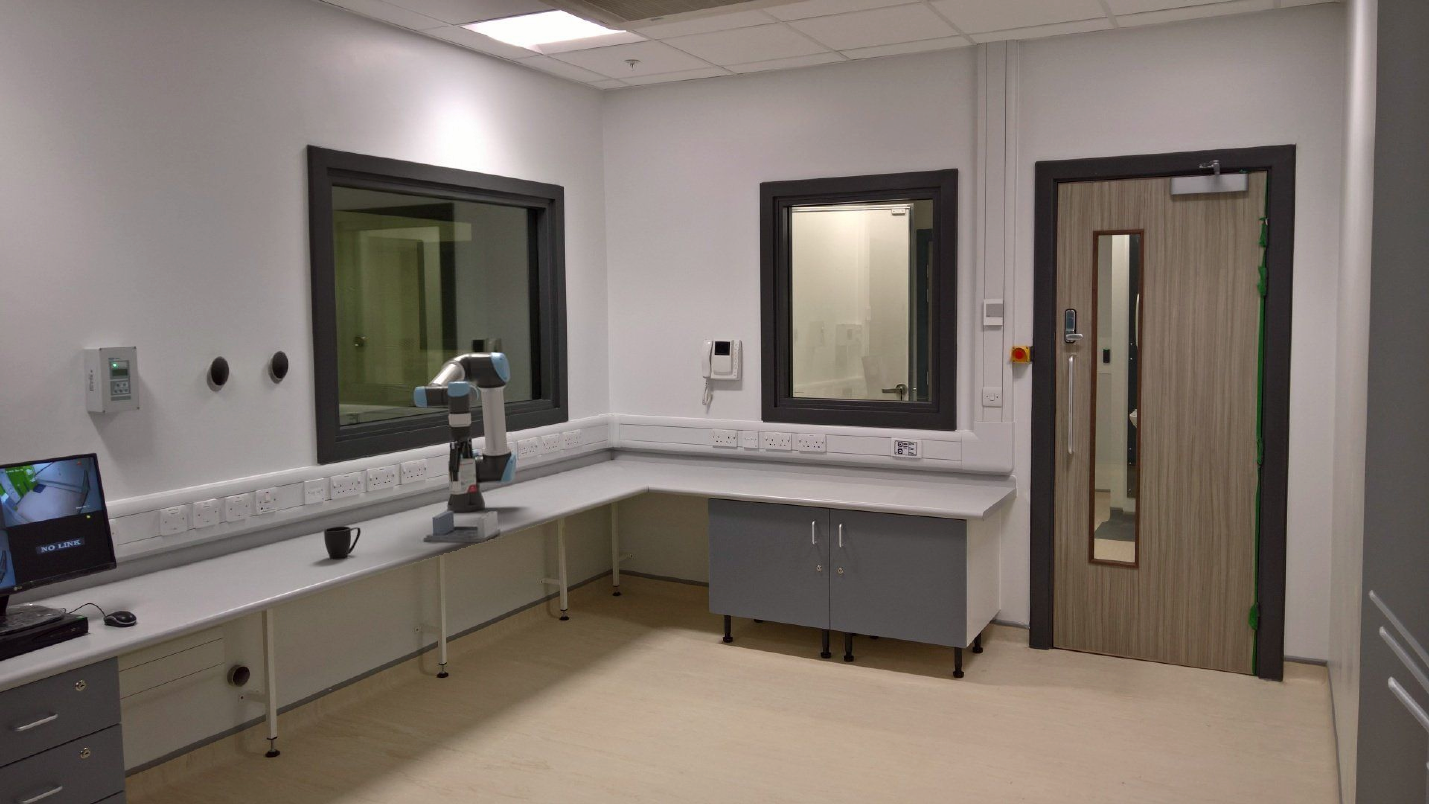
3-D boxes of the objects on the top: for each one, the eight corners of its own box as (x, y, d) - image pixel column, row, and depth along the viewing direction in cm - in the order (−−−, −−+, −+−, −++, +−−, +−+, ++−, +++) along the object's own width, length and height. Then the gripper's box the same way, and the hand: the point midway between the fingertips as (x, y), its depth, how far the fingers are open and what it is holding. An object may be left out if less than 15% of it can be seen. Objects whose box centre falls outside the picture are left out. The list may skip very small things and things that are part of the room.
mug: (367, 554, 334) (365, 526, 333) (332, 561, 325) (330, 532, 325) (355, 551, 340) (354, 523, 339) (321, 557, 331) (319, 529, 330)
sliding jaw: (447, 529, 365) (446, 510, 365) (454, 529, 365) (453, 511, 364) (433, 536, 354) (432, 517, 353) (439, 536, 353) (439, 517, 353)
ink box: (468, 490, 362) (467, 457, 361) (477, 491, 359) (475, 458, 358) (448, 493, 355) (447, 460, 354) (457, 494, 352) (455, 461, 351)
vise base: (443, 531, 368) (442, 509, 367) (500, 532, 364) (499, 510, 364) (423, 541, 352) (422, 518, 352) (482, 542, 349) (481, 519, 348)
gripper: (463, 422, 366) (465, 482, 368) (436, 428, 345) (439, 493, 346) (482, 422, 365) (485, 483, 367) (457, 428, 343) (460, 493, 345)
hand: (462, 487), depth 357 cm, fingers closed on ink box, 9 cm apart
